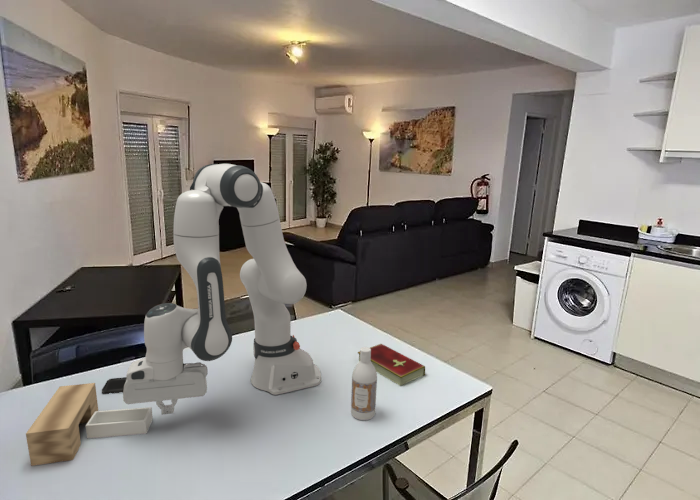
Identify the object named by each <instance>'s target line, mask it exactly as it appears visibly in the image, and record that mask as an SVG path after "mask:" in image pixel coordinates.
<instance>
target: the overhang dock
mask: <svg viewBox="0 0 700 500" xmlns="http://www.w3.org/2000/svg"><path fill="white" fill-rule="evenodd" d="M95 411H99V405H98V396H97V388H96V382H91V383H89V382H88V383H80V384H72V385H61V386H59V387H58V388H57V390H56V391H55V393H54V394H53V395H52V397H51V398H50V399H49V400H48V402H47V404H46V405H45V406H44V408H42V411H41V412H40V413H39V415H38V416H37V418H36V419H35V421H33V422H32V424H31V426H30V427H29V428H28V430H27V431H26V433H25V437H26V438H25V439H26V444H27V449H28V455H29V461H30V462H29V463H30V466H31V467H32V466H34V467H35V466H39V465H41V466H42V465H47V464H54V463H62V462H69V461H73V460H74V459H75V457H76V456H77V453H78V451H79V450H80V447H81V445H82V443H81V434H80V427H79V425H80V424H81V425H82V424H87V423H88V421H89V420H90V418H91V417H92V415H93V414H94V412H95Z"/></svg>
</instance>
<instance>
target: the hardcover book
mask: <svg viewBox="0 0 700 500" xmlns="http://www.w3.org/2000/svg"><path fill="white" fill-rule="evenodd" d="M369 348H370V349H371V363H372V364H373V366H374V367H375V369H376V373H377V374H379V375H381V376H383V377H384V378H386V379H388V380H390V381H391V382H393V383H394V384H396V385H398V386H400V387H401V386H403V385H406V384H408V383H409V382H412V381H414V380H416V379H418V378H420V377H422V376H425V375H426V366H425V365H423V364H422V363H419V362H418V361H416V360H414V359H412V358H410V357H408V356H406V355H404V354H402V353H400V352H398V351H397V350H395V349H393V348H391V347H388V346H386V345H385V344H383V343H379V344H376V345H374V346H371V347H369ZM357 355H358V362H359V361H360V351H358V352H357Z"/></svg>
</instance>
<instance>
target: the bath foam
mask: <svg viewBox="0 0 700 500" xmlns="http://www.w3.org/2000/svg"><path fill="white" fill-rule="evenodd" d="M377 374H378V372H376V369H375V367H374V366H373V364H372V363H371V349H370V347H367V346H363V347H361V348H360V361H359V360H358V362H357V363H356V365H355V367H354V369H353V371H352V375H351V397H350V398H351V400H350V401H351V402H350V414H351V416H352V417H353V418H355V419H357V420H360V421H367V420H371V419H373V418H374V417H375V415H376V407H377V387H378V385H377V384H378V375H377Z"/></svg>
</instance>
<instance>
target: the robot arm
mask: <svg viewBox="0 0 700 500" xmlns="http://www.w3.org/2000/svg"><path fill="white" fill-rule="evenodd" d="M224 207H233V208H236V209H237V211H238V213H239V220H240V225H241V229H242V235H243V238H244V243H245V248H246V250H247V252H248V253H249V254H250V255H251V257H252V258H250V259H248V260H247V261H245V262H244V263H243V264H242V266H241V268H240V271H239V279H240V282H241V283H242V284H243V286H244V288H245V290H246V293H247V297H248V299H249V302H250V305H251V309H252V314H253V320H254V339H253V357H254V361H253V362H254V363H253V369H252V374H251V378H250V384H251V385H252V386H253V387H255V388H257V389H258V390H261V391H265V392H268V393H270V394H272V395H274V396H275V395H276V396H277V395H282V394H286V393H289V392H290V393H291V392H296V391H299V390H303V389H307V388H312V387H315V386H318V385H320V383H321V382H322V373H321V370H320V368H319V367H318V366H317V365H316V364H315V363H314V360H313V358H312V357H311V354H310V353H308V352H307V351H305V350H304V349H302V348H301V345H300V343H299V342H298V340H297V338H296V337H295V335H294V334H291V314H290V311H289V310H288V308H287V307H286V305H295V304H297V303H298V302H300V301H301V300H302V299H303V298H304V296H305V294H306V291H307V286H308V285H307V279H306V278H305V276H304V275H303V273H302V272H301V271H300V270H299V269H298V268H297V266H296V264H295V263H294V261H293V258H292V256H291V254H290V252H289V250H288V248H287V245H286V243H285V239H284V235H283V228H282V224H281V219H280V214H279V209H278V204H277V202H276V199H275V195H274V194H273V191H272V189H271V187H270V185H268V184H267V183H265V182H262V181H260V178H259V177H258V175H257V174H256V173H255V172H254V171H253V170H252V169H251V168H249V167H246V166H243V165H239V164H238V165H236V164H231V163H219V164H218V163H209V164H206V165H203V166H202V167H200V168H199V169H198V170H197V171H196V172H195V174H194V177H193V179H192V183H191V185H190V186H189V190H186V191H184V192H182V193H181V194H180V195H178V197H177V199H176V204H175V208H174V209H175V210H174V215H173V247H174V251H175V256H176V260H177V261H178V262H179V264H180V265H181V266H182V267H183V269H184V270H185V271H186V272H187V273H188V275H189V276H190V278H191V280H192V281H193V284H194V287H195V291H196V297H197V298H196V299H197V307H198V308H188V307H187V308H185V307H182V306H180V305H177V304H176V303H173V302H166V303H161V304H157V305H154V306H153V307H152V308H150V309H149V310H148V311H147V312H146V314H145V318H144V323H143V336H144V337H143V338H144V340H143V341H144V345H145V347H146V353H145V357H142V358H140V359H138V360H137V359H136V360H135V361H133V362H132V363H131V364H130V365H129V367H128V369H127V371H126V375H125V377H127V380H126V382H125V385H124V390H123V392H122V398H123V403H125V404H127V405H134V404H145V403H151V402H153V403H154V402H155V403H156V406H157V407H158V409H160V410H161V411H160V413H161V415H170V414H175V407H176V404H177V403H178V400H179V399H180V400H181V399H191V398H199V397H204V396H205V395H206V394H207V392H208V384H207V383H208V382H207V381H208V380H207V378H206V377H207V376H208V373H209V372H208V366H207V364H204V363H202V362H195V363H193V362H191V363H190V362H189V363H188V362H187V363H184V350H185V349H187V348H189V349H190V350H191V351H192V352H193V353H194V355H195V356H196V357H197V358H198V359H199V360H200V361H203V362H204V361H205V362H211V361H216V360H217V359H219V358H221V357H222V356H223V355H225V354H226V353H227V352H228V350H229V349H230V347H231V345H232V342H233V333H232V330H231V328H230V326H229V324H228V320H227V315H226V306H225V302H226V301H225V291H224V280H223V273H222V265H221V258H220V225H219V219H220V216H221V213H222V211H223V209H224ZM164 401H171V404H165V403H164Z"/></svg>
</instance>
